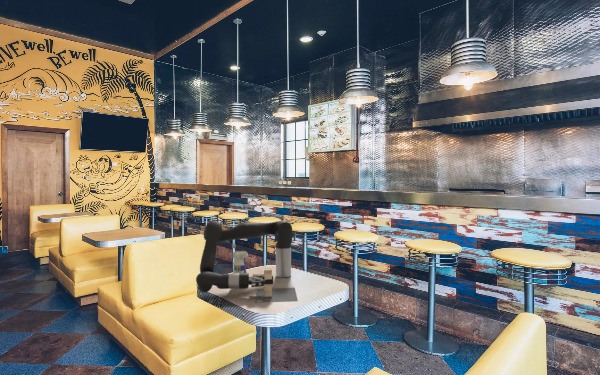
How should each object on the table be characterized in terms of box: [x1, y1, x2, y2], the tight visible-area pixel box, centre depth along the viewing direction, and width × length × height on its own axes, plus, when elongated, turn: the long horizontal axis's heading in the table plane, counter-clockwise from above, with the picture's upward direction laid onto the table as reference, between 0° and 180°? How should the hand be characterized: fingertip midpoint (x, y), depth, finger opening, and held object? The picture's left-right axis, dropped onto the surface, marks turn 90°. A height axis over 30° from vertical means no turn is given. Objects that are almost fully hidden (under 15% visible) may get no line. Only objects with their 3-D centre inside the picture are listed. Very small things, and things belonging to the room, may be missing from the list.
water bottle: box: [231, 242, 249, 291], centre depth 177 cm, size 8×9×25 cm
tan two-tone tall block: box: [263, 266, 273, 297], centre depth 163 cm, size 6×4×13 cm, turn 5°
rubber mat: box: [254, 287, 299, 304], centre depth 165 cm, size 21×20×1 cm
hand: (273, 279), depth 164 cm, fingers closed on tan two-tone tall block, 6 cm apart
